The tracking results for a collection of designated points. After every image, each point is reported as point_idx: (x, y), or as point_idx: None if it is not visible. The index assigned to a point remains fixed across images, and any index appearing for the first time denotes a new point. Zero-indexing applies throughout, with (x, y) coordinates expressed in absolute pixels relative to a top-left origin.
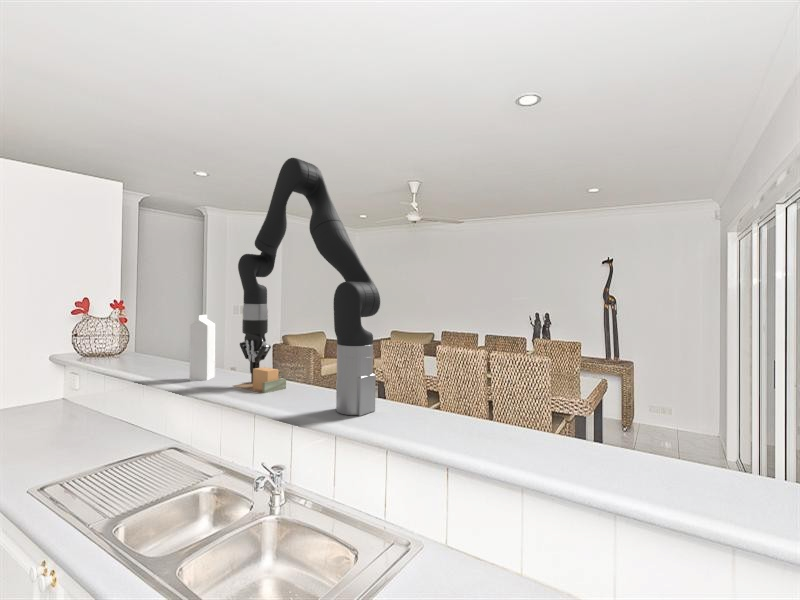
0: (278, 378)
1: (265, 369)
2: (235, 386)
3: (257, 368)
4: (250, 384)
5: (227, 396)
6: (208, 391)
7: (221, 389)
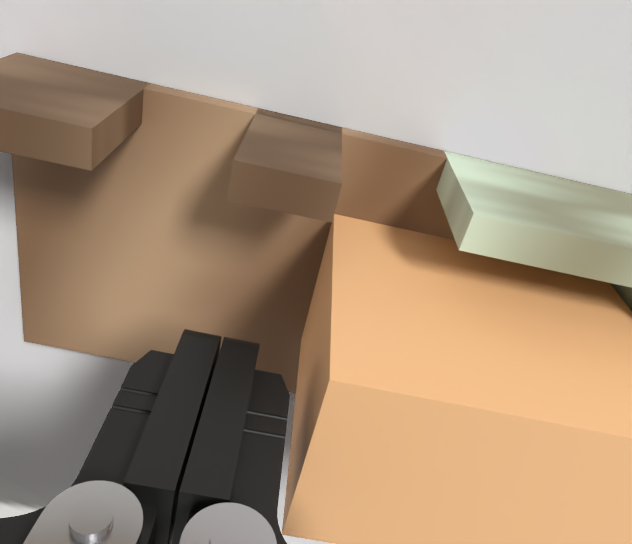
0: (620, 281)
1: (510, 519)
2: (84, 350)
3: (329, 504)
4: (126, 212)
5: (290, 537)
6: (26, 488)
7: (37, 414)
